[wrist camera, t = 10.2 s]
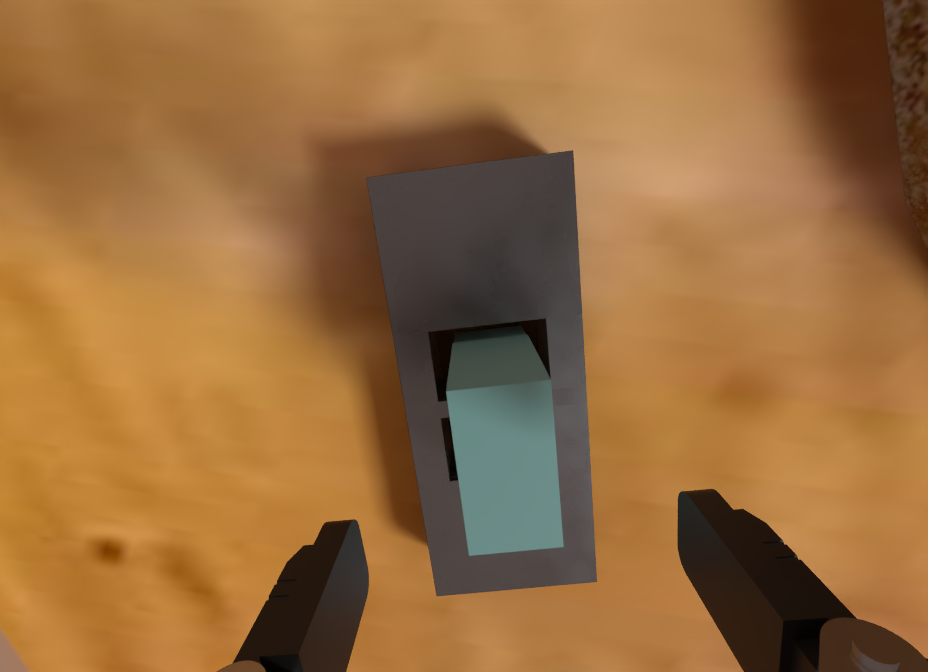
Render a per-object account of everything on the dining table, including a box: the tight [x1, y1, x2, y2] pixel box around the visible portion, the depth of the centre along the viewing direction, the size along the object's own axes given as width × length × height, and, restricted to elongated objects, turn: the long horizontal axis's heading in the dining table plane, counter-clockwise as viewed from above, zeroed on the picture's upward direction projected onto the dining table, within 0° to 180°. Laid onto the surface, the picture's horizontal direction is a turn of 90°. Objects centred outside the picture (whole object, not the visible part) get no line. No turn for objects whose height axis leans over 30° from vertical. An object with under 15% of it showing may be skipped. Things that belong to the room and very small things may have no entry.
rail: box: [366, 151, 597, 596], centre depth 21 cm, size 20×8×3 cm, turn 7°
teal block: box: [446, 325, 564, 556], centre depth 18 cm, size 6×3×8 cm, turn 7°
